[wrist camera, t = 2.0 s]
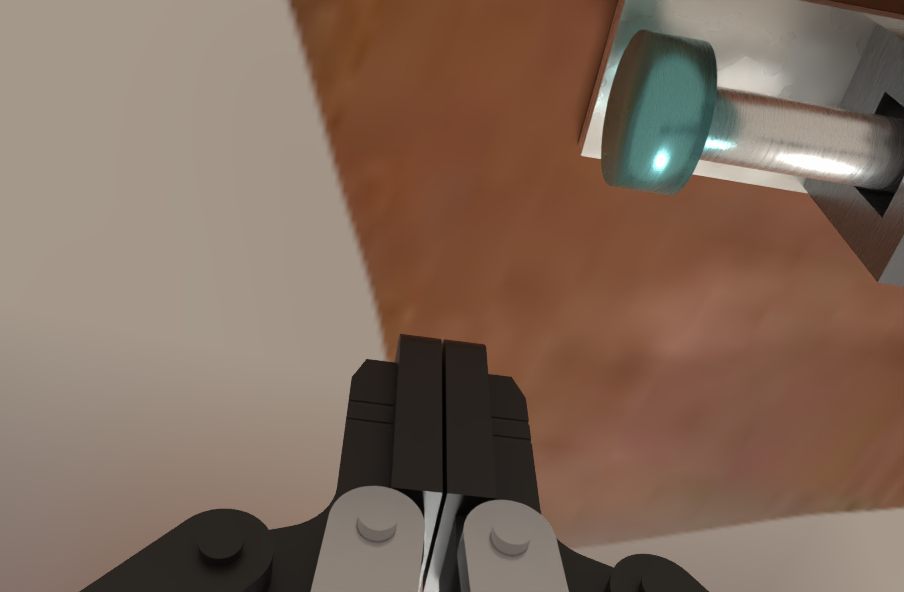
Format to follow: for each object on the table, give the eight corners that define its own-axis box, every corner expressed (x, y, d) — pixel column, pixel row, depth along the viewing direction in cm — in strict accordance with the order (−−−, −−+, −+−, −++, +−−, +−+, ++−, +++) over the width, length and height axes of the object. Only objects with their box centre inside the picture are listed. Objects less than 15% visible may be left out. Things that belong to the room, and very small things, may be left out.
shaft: (1005, 79, 29) (1097, 136, 25) (935, 205, 32) (1008, 275, 28) (633, 10, 28) (665, 58, 24) (593, 147, 31) (616, 212, 27)
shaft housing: (1069, 46, 31) (1237, 131, 25) (973, 211, 35) (1095, 322, 28) (629, -38, 30) (681, 28, 23) (577, 145, 33) (609, 247, 27)
